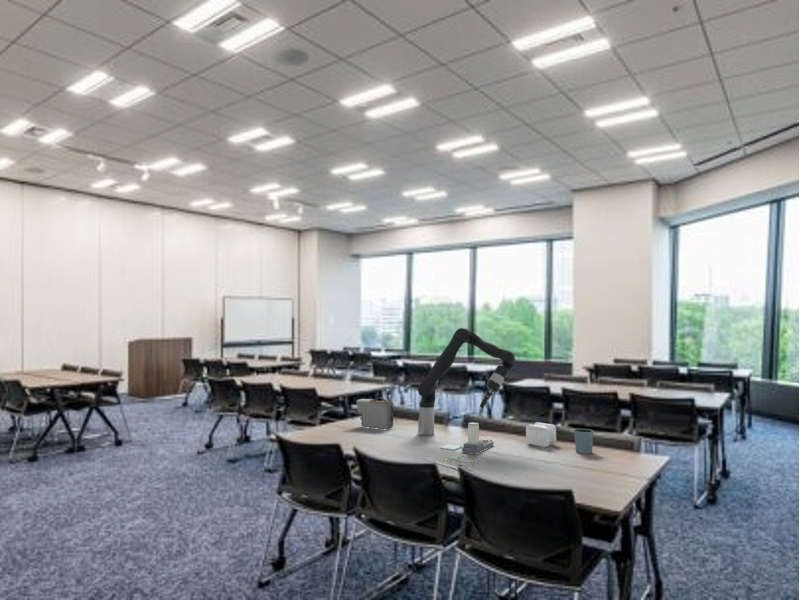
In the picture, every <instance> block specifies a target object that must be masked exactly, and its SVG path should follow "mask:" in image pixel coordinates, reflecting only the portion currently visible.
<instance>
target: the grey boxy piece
mask: <svg viewBox="0 0 800 600" xmlns="http://www.w3.org/2000/svg"><path fill="white" fill-rule="evenodd" d="M384 385H385V389H387V387H386V384H384ZM387 394H388V393H387V392H385V396H386V397H385V398H386V399H385V398H384V397H378V398H376V399H372V398H371V399H370V398H361V399H356V406H357V407H356V408H357V413H358V414H359V415H360V416H359V419H360V421H361V423H360V424H361V427H362V426H363V427H369V428H378V429H389V428H391V427H393V428H394V402H393V401H390V400H388V395H387ZM379 399H381V400H379ZM378 429H377V430H378ZM391 429H392V428H391ZM389 430H390V429H389Z"/></svg>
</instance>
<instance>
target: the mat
mask: <svg viewBox="0 0 800 600" xmlns="http://www.w3.org/2000/svg"><path fill="white" fill-rule="evenodd" d="M441 448H442V449H441ZM462 448H463V447H462V445H455V444H449V443H447V444H445V445H443V446H440V448H439V449H441V450H447V449H448V450H449V451H454V450H455V451H457V450H459V449H462ZM456 449H457V450H456Z"/></svg>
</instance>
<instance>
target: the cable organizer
mask: <svg viewBox="0 0 800 600" xmlns="http://www.w3.org/2000/svg"><path fill="white" fill-rule="evenodd" d="M525 442H526V443H527V444H529V445H530V444H532V445H531V446H539V447H540V448H547V447H550V446H553V445H556V443H557V427H556V425H554V424H550V423H544V422H537V421H536V422H534V424H527V425H526V426H525Z"/></svg>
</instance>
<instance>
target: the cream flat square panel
mask: <svg viewBox="0 0 800 600" xmlns="http://www.w3.org/2000/svg"><path fill="white" fill-rule="evenodd" d="M462 456H463V457H462ZM462 456H461V455H458V456H456V457H453V456H450V457H449V459H450V460H452V462H451V463H454V460H456V461H458V462H460V463H458V466H463V465H464V467H467V464H464V462H461V459H463V460H465V459H467V457H466V456H465V455H462ZM457 458H458V459H457ZM445 460H446V461H447V460H448V458H445ZM473 461H474V460H471V459H470V460H468V461H467V463H468V462H469V463H474V462H473ZM480 461H481V462H480ZM477 463H478V464H477ZM482 463H485V461H484V460H480V459H479V458H478V459H476V461H475V463H474V464H477V465H480V464H481V465H482Z"/></svg>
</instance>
